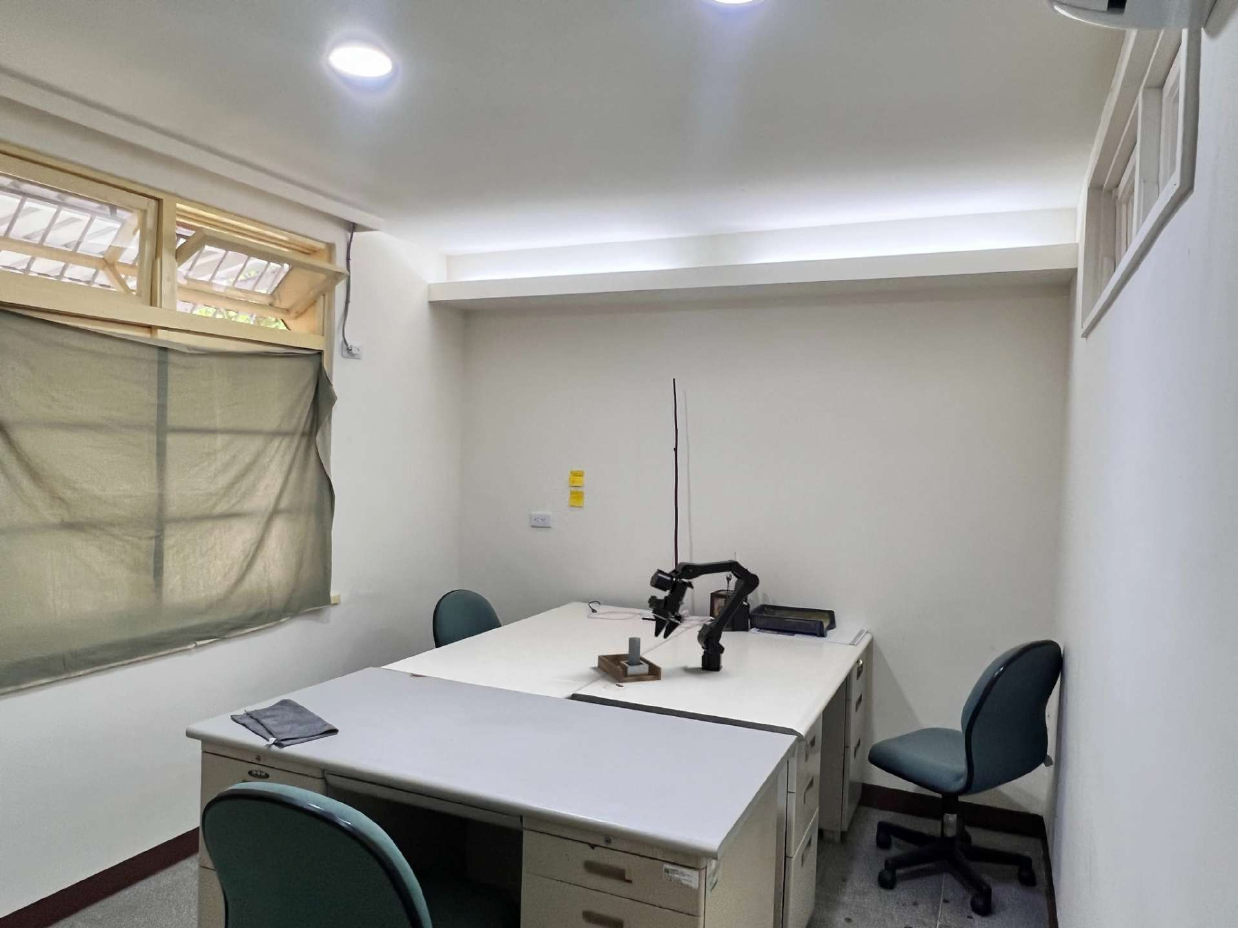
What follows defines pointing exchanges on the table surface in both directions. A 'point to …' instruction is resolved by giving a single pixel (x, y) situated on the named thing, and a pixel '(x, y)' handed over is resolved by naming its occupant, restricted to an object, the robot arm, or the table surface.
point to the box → (613, 669)
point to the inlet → (634, 669)
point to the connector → (634, 651)
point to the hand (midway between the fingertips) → (660, 637)
